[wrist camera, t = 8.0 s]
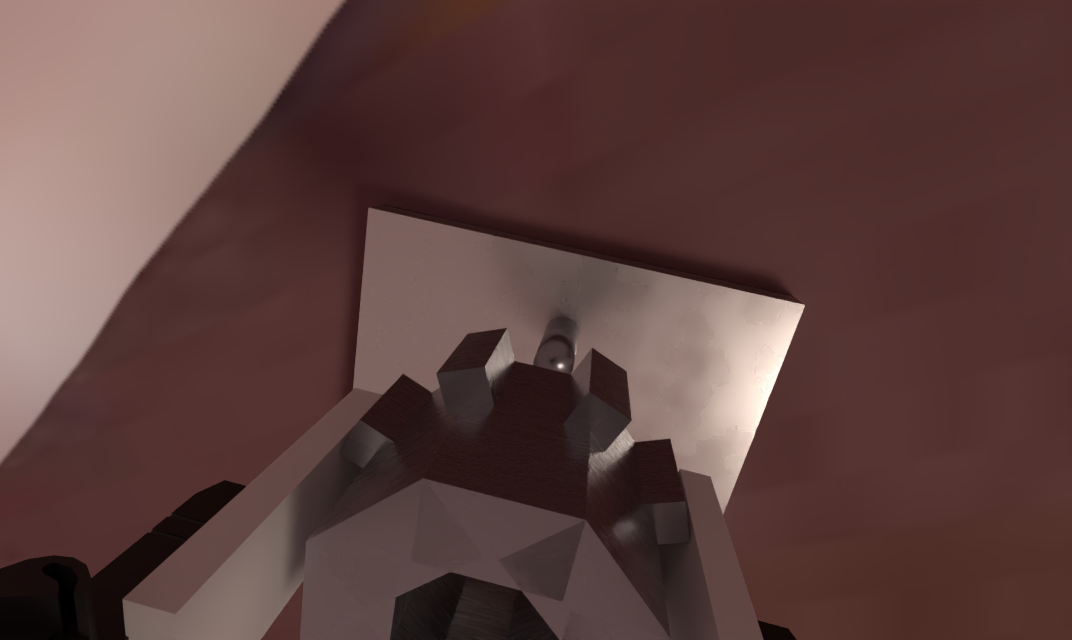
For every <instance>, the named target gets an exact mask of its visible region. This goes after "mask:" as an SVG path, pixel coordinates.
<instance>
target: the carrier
mask: <svg viewBox="0 0 1072 640" xmlns="http://www.w3.org/2000/svg"><path fill="white" fill-rule="evenodd" d="M804 306H805V305H804V304H803V303H802V302H800V301H799V300H798V299H796V298H795V297H794V296H790V295H786V294H781V293H777V292H772V291H768V290H763V289H759V288H754V287H750V286H745V285H741V284H736V283H732V282H727V281H723V280H718V279H714V278H709V277H705V276H700V275H696V274H691V273H687V272H682V271H678V270H673V269H669V268H664V267H660V266H655V265H651V264H646V263H642V262H637V261H633V260H628V259H624V258H619V257H615V256H610V255H606V254H601V253H597V252H592V251H588V250H583V249H579V248H574V247H570V246H565V245H561V244H556V243H552V242H547V241H543V240H538V239H534V238H529V237H525V236H520V235H516V234H511V233H507V232H502V231H498V230H493V229H489V228H484V227H480V226H475V225H471V224H466V223H462V222H457V221H453V220H448V219H444V218H439V217H435V216H430V215H426V214H421V213H417V212H412V211H408V210H403V209H399V208H394V207H390V206H385V205H379V206H374V207H369V208H368V219H367V231H366V242H365V254H364V266H363V277H362V289H361V301H360V313H359V324H358V336H357V348H356V359H355V371H354V383H353V389H354V388H358V389H362V390H366V391H370V392H374V393H378V394H382V395H383V394H384V393H385V392H386V391H387V390H388V389H389V388H390V387H391V386H392V385H393V384H394V383H395V382H396V381H397V380H398V378H399V377H400V376H401V375H402V374H405V375H406V376H408V377H409V378H411V379H412V380H414V381H415V382H417V383H418V384H420V385H421V386H423V387H424V388H426V389H427V390H429V391H430V392H433V391H435V390H436V389H438V388H440V386H439V382H438V378H437V375H436V373H437V372H438V370H439V369H440V368H441V367H442V365H443V364H444V363H445V362H446V360H447V359H448V358H449V356H450V355H451V354H452V353H453V351H454V350H455V349H456V348H457V346H458V345H459V344H460V343H461V341H462V340H463V339H464V338H465V336H466V335H467V334H469V333H475V332H482V331H489V330H496V329H502V328H508V332H509V337H510V341H511V346H512V351H513V355H514V360H515V361H517V362H521V363H525V364H530V365H534V366H538V367H542V368H546V369H551V370H555V371H559V372H563V373H567V374H572V373H573V372H574V370H575V369H576V368H577V366H578V365H579V364H580V363H581V361H582V360H583V359H584V357H585V356H586V355H587V354H588V352H589V351H590V350H591V348H594V349H595V350H596V351H598V352H599V353H601V354H602V355H604V356H605V357H607V358H608V359H610V360H611V361H613V362H614V363H615V364H617V365H618V366H620V367H621V368H623V369H624V370H626V371H627V379H628V389H629V399H630V408H631V418H632V421H631V422H630V423H629V424H628V426H627V427H626V430H627V431H628V433H629V434H630V436H631V437H632V439H633V440H634V442H641V441H651V440H660V439H671V444H672V448H673V452H674V456H675V461H676V465H677V469H678V472H679V469H683V470H687V471H691V472H695V473H699V474H703V475H707V476H711V479H712V483H713V486H714V489H715V492H716V495H717V498H718V501H719V504H720V507H721V510H722V513H724V511H725V508H726V506H727V503H728V501H729V498H730V495H731V493H732V490H733V488H734V485H735V483H736V480H737V478H738V475H739V472H740V470H741V467H742V465H743V462H744V460H745V457H746V455H747V452H748V449H749V447H750V444H751V442H752V439H753V437H754V434H755V432H756V429H757V426H758V424H759V421H760V419H761V416H762V414H763V411H764V409H765V406H766V403H767V401H768V398H769V396H770V393H771V391H772V388H773V386H774V383H775V380H776V378H777V375H778V373H779V370H780V368H781V365H782V363H783V360H784V357H785V355H786V352H787V350H788V347H789V345H790V342H791V340H792V337H793V334H794V332H795V329H796V327H797V324H798V322H799V319H800V317H801V314H802V311H803V309H804Z"/></svg>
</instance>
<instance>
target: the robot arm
mask: <svg viewBox="0 0 1072 640" xmlns="http://www.w3.org/2000/svg"><path fill="white" fill-rule="evenodd" d="M381 396H382V394H378V393H374V392H370V391H366V390H362V389H358V388H354V389H353V390H352V391H351V392H350V393H349V394H348V395H347V396H346V397H345V398H343V399H342V400H341V401H340V402H339V403H338V404H337V405H336V406H335V407H334V408H332V409H331V410H330V411H329V412H328V413H327V414H326V415H325V416H324V417H323V418H321V419H320V420H319V421H318V422H317V423H316V424H315V425H314V426H313V427H311V428H310V429H309V430H308V431H307V432H306V433H305V434H304V435H303V436H302V437H300V438H299V439H298V440H297V441H296V442H295V443H294V444H293V445H292V446H291V447H289V448H288V449H287V450H286V451H285V452H284V453H283V454H282V455H281V456H280V457H278V458H277V459H276V460H275V461H274V462H273V463H272V464H271V465H270V466H269V467H267V468H266V469H265V470H264V471H263V472H262V473H261V474H260V475H259V476H258V477H256V478H255V479H254V480H253V481H252V482H251V483H250V484H249V485H248V486H244V485H241V484H237V483H233V482H229V481H226V480H224V481H222V482H220V483H218V484H216V485H213V486H211V487H209V488H207V489H205V490H203V491H200V492H198V493H196V494H195V495H193V496H192V497H191V498H190V499H188V500H187V501H186V502H185V503H184V504H182V505H181V506H180V507H179V508H177V509H176V510H175V511H174V512H172V515H171V516H170V517H166V518H165V519H164V520H163V521H161V522H160V523H159V524H158V525H156V526H155V527H154V528H153V530H152V532H151V533H147V534H145V535H144V536H143V537H142V538H140V539H139V540H138V541H137V542H136V543H134V544H133V545H132V546H131V547H129V548H128V549H127V550H126V551H124V552H123V553H122V554H121V555H120V556H118V557H117V558H116V559H115V560H113V561H112V562H111V563H110V564H109V565H107V566H106V567H105V568H104V569H102V570H101V571H100V572H99V573H97V574H96V575H95V576H94V577H93V578H91V577H90V574H89V571H88V568H87V565H86V564H84V563H82V562H81V561H79V560H77V559H75V558H74V557H64V556H54V555H53V556H46V557H40V558H33V559H27V560H24V561H21V562H19V563H16V564H13V565H10V566H7V567H4V568H1V569H0V640H261V638H262V637H263V636H264V634H265V633H266V631H267V630H268V629H269V627H270V626H271V624H272V623H273V622H274V620H275V619H276V618H277V616H278V615H279V613H280V612H281V611H282V609H283V608H284V606H285V605H286V604H287V602H288V601H289V599H290V598H291V597H292V595H293V594H294V593H295V591H296V590H297V588H298V587H299V586H300V584H301V583H302V581H303V580H304V569H305V553H306V541H307V539H308V538H309V537H310V536H311V534H312V533H313V532H314V531H315V529H316V528H317V527H318V525H319V524H320V523H321V522H322V520H323V519H324V518H325V517H326V515H327V514H328V513H329V511H330V510H331V509H332V508H333V506H334V505H335V504H336V503H337V501H338V500H339V499H340V497H341V496H342V495H343V494H344V492H345V491H346V490H347V489H348V487H349V486H350V485H351V483H352V482H353V481H354V480H355V478H356V477H357V476H358V474H359V473H360V472H361V471H362V469H363V468H362V467H360V466H359V465H357V464H355V463H354V462H352V461H351V460H349V459H348V458H346V457H345V456H343V455H341V454H340V450H341V449H342V447H343V445H344V444H345V442H346V440H347V439H348V437H349V436H350V434H351V432H352V431H353V429H354V428H355V426H356V424H357V423H358V421H359V420H360V419H361V418H362V417H363V415H364V414H365V413H366V412H367V411H368V410H369V409H370V408H371V407H372V406H373V405H374V404H375V403H376V402H377V401H378V400H379V399H380V397H381ZM678 473H679V478H680V482H681V486H682V491H683V495H684V499H685V505H686V512H687V520H688V528H689V535H690V542H689V543H677V544H662V545H658V550H659V557H660V564H661V571H662V579H663V586H664V593H665V601H666V608H667V615H668V622H669V630H670V637H671V639H670V640H796V638H795V637H794V636H793V634H792V633H791V632H790V630H789V629H788V628H784V627H780V626H777V625H773V624H769V623H765V622H762V621H758V620H757V618H756V615H755V612H754V609H753V606H752V603H751V600H750V597H749V593H748V590H747V587H746V584H745V581H744V578H743V575H742V572H741V569H740V566H739V563H738V560H737V557H736V553H735V550H734V547H733V544H732V541H731V538H730V535H729V532H728V529H727V526H726V523H725V520H724V516H723V513H722V510H721V507H720V504H719V501H718V498H717V495H716V492H715V489H714V486H713V483H712V479H711V476H707V475H703V474H699V473H695V472H691V471H687V470H683V469H679V472H678Z"/></svg>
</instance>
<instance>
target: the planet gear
mask: <svg viewBox="0 0 1072 640" xmlns="http://www.w3.org/2000/svg"><path fill="white" fill-rule="evenodd" d="M436 375H437V378H438V382H439V386H440V388H438V389H436V390H435V391H433V392H430V391H429V390H427V389H426V388H424V387H423V386H421V385H420V384H418V383H417V382H415V381H414V380H412V379H411V378H409V377H408V376H406V375H405V374H402V375H401V376H400V377H399V378H398V380H397V381H396V382H395V383H394V384H393V385H392V386H391V387H390V388H389V389H388V390H387V391H386V392H385V393H384V394H383V395H382V396H381V397H380V399H379V400H378V401H377V402H376V403H375V404H374V405H373V406H372V407H371V408H370V409H369V410H368V411H367V412H366V413H365V414H364V415H363V417H362V418H361V419H360V420H359V421H358V423H357V424H356V426H355V428H354V429H353V431H352V432H351V434H350V436H349V437H348V439H347V440H346V442H345V444H344V445H343V447H342V449H341V450H340V454H341V455H343V456H345V457H346V458H348V459H349V460H351V461H352V462H354V463H355V464H357V465H359V466H360V467H362V468H363V469H362V471H361V472H360V473H359V474H358V476H357V477H356V478H355V480H354V481H353V482H352V483H351V485H350V486H349V487H348V489H347V490H346V491H345V492H344V494H343V495H342V496H341V497H340V499H339V500H338V501H337V503H336V504H335V505H334V506H333V508H332V509H331V510H330V511H329V513H328V514H327V515H326V517H325V518H324V519H323V520H322V522H321V523H320V524H319V525H318V527H317V528H316V529H315V531H314V532H313V533H312V534H311V536H310V537H309V538H308V539H307V541H306V553H305V569H304V585H303V601H302V617H301V633H300V640H670V639H671V637H670V630H669V622H668V615H667V608H666V601H665V593H664V586H663V579H662V571H661V564H660V557H659V550H658V545H662V544H677V543H689V542H690V535H689V528H688V520H687V512H686V505H685V499H684V495H683V491H682V486H681V482H680V478H679V473H678V469H677V465H676V461H675V456H674V452H673V448H672V444H671V439H660V440H651V441H641V442H634V440H633V439H632V437H631V436H630V434H629V433H628V431H627V430H626V427H627V426H628V424H629V423H630V422H631V421H632V418H631V408H630V399H629V389H628V379H627V371H626V370H624V369H623V368H621V367H620V366H618V365H617V364H615V363H614V362H613V361H611V360H610V359H608V358H607V357H605V356H604V355H602V354H601V353H599V352H598V351H596V350H595V349H594V348H591V350H590V351H589V352H588V354H587V355H586V356H585V357H584V359H583V360H582V361H581V363H580V364H579V365H578V366H577V368H576V369H575V370H574V372H573V373H572V374H567V373H563V372H559V371H555V370H551V369H546V368H542V367H538V366H534V365H530V364H525V363H521V362H517V361H515V360H514V355H513V351H512V346H511V341H510V337H509V332H508V328H502V329H496V330H489V331H482V332H475V333H469V334H467V335H466V336H465V338H464V339H463V340H462V341H461V343H460V344H459V345H458V346H457V348H456V349H455V350H454V351H453V353H452V354H451V355H450V356H449V358H448V359H447V360H446V362H445V363H444V364H443V365H442V367H441V368H440V369H439V370H438V372H437V373H436Z"/></svg>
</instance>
